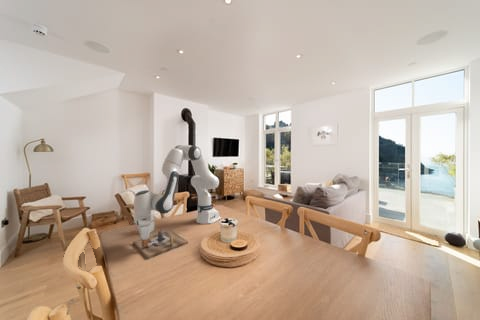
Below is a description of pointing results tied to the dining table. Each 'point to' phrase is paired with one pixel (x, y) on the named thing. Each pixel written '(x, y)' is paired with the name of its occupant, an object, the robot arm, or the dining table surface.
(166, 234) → the walnut board
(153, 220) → the supplement box
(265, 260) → the dining table surface
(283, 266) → the dining table surface
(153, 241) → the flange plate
